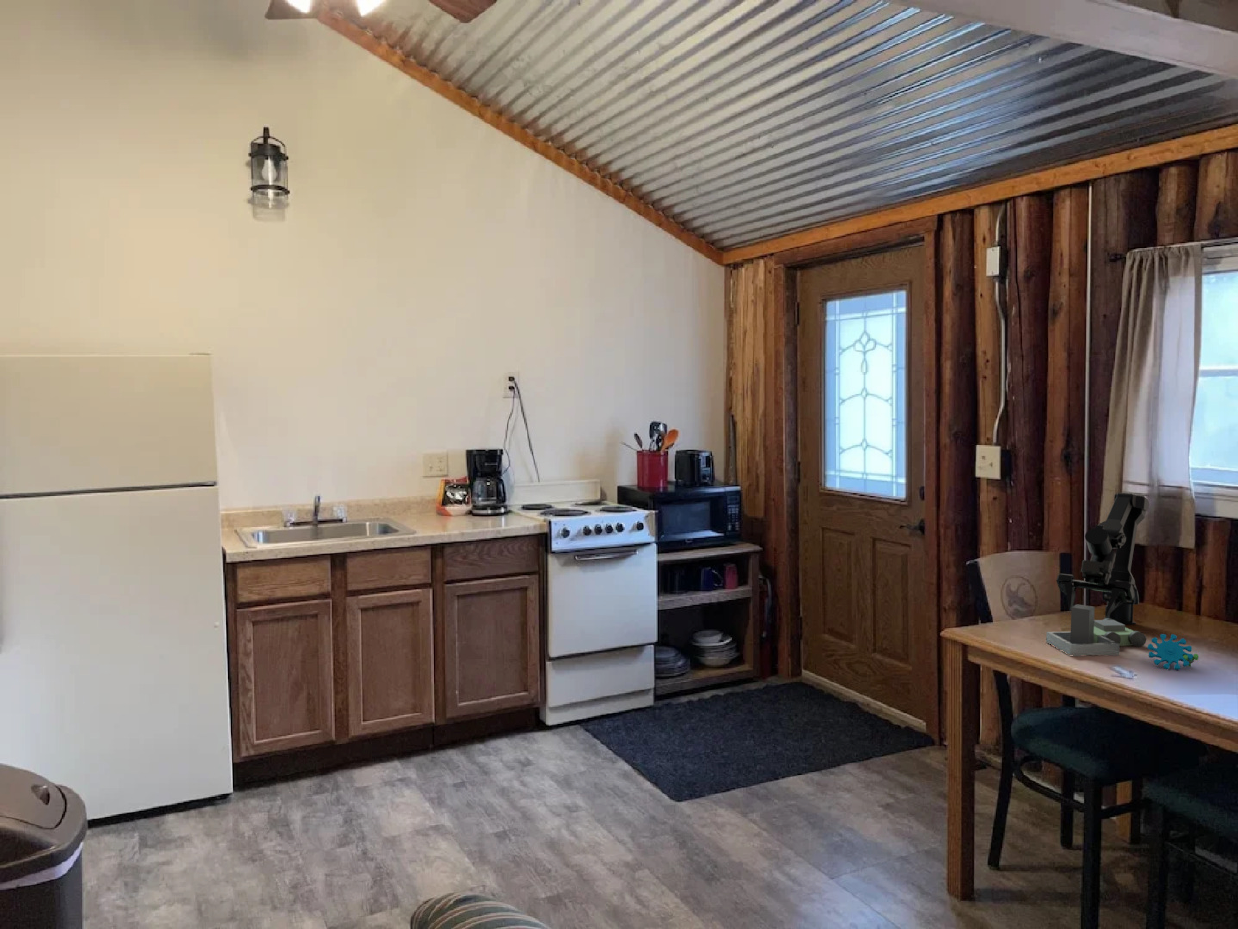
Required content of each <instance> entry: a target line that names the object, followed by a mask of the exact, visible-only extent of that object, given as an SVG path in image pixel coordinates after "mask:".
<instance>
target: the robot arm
mask: <svg viewBox="0 0 1238 929" xmlns="http://www.w3.org/2000/svg"><path fill="white" fill-rule="evenodd" d="M1149 506H1150V500H1149V499H1148V498H1147V497H1145V496H1144V495H1142V494H1135V493H1134V494H1133V493H1132V492H1131V493H1130V492H1116V493H1115V494H1114V499H1113V504H1112V506H1111V508H1110V510H1109V513H1108V515H1107V517H1106V519H1105V521H1102V522H1100V523H1098V524H1096V525H1095V527H1094V528H1091V529H1089V530H1087V532H1085V534H1084V538H1085V542H1086V545H1087V549H1088V551H1089V553H1090V554H1091V556H1090V557H1091V558H1090V559H1089V560H1087V559H1083V560H1082V562H1081V568H1080V573H1082V578H1083V579H1084V580H1080V579H1076V578H1075V575H1074V574H1070V573H1068V574H1067V573H1059V574H1058V575H1057V578H1056V579H1055V581H1056V584H1057V586H1058V589H1059V591H1060V592H1062V593H1063V594H1064V595H1065V596H1066V597H1067V605H1068V611H1069V612H1070V611H1071V607H1073V606H1074V605H1075V604H1074V603H1075V598H1076V596H1077V594H1076V592H1077V590H1078V589H1077V588H1079V589H1086V590H1092V591H1096V592H1098V591H1099V592H1102V594H1101V595H1102V602H1106V604H1107V605H1105V611H1104V612H1105V613H1104V617H1103V619H1105V618H1110V619H1112V620H1115V621H1117V622H1119V623H1122V624H1124V625H1136V624H1137V622H1135V621H1134V606H1135V605H1139V603H1140V598H1139V596H1140V595H1139V591H1138V589H1137V586H1136V581H1135V578H1134V577H1133V574H1132V572H1131V570H1132V564H1133V562H1132V561H1133V557H1134V556H1133V555H1134V549H1135V544H1136V537H1137V532H1138V530H1137V529H1138V525H1139V524H1140V523H1141V522H1143V520H1144V519H1145V518H1146V512H1148V511H1149ZM1115 549H1116V550H1115Z"/></svg>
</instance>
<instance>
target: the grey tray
mask: <svg viewBox="0 0 1238 929" xmlns="http://www.w3.org/2000/svg"><path fill="white" fill-rule="evenodd" d="M1070 636H1071V630H1069V631H1046V639H1045V640H1046V641H1045V643H1046V642H1047V644H1048V643H1049V644H1048V645H1050V644H1052V645H1054V646H1055V647H1057V648H1058V649H1060V650H1063V651H1064V652H1066V653H1067V654H1069V655H1073V656H1072V657H1082V656H1081V655H1109V656H1119V655H1120V646H1121V645H1120V644H1118V643H1116V642H1114V641H1112V640H1110V639H1108V638H1106V637H1104V636H1102V635H1099V636H1098V643H1092V644H1072V643H1070ZM1055 647H1054V648H1055ZM1057 648H1056V649H1057ZM1058 649H1057V650H1058ZM1060 650H1059V651H1060ZM1064 652H1063V653H1064ZM1067 654H1066V655H1067ZM1069 655H1068V656H1069Z"/></svg>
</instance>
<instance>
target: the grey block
mask: <svg viewBox="0 0 1238 929" xmlns="http://www.w3.org/2000/svg"><path fill="white" fill-rule="evenodd" d="M1095 609H1096V608H1095V606H1093V605H1092V606H1091V605H1084V604H1074V605H1073V607H1071V613H1070V614H1071V615H1070V631H1071V636H1070V643H1072V644H1092V643H1093V638H1094V620H1095Z"/></svg>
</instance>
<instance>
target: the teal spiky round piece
mask: <svg viewBox="0 0 1238 929" xmlns="http://www.w3.org/2000/svg"><path fill="white" fill-rule="evenodd" d="M1159 638H1160V639H1161V642H1160V643H1159V642H1158V638H1157V637H1156V636H1155V637H1152V638H1151V643H1149V644H1148V645H1147V648H1146V649H1147V650H1151V651H1149V652H1148V658H1150V659H1152V658H1155V659H1154V660H1153V663H1154V664H1155V665H1156V666H1159V665H1160V664H1161V663H1163V669H1164V670H1167V669H1168V670H1170V667H1171V666H1170V665H1172V664H1173V663H1174V665H1173V669H1174V670H1175V671H1176V670H1177V671H1180V670H1181V665H1180V664H1179V662H1182V666H1183V667H1184V668H1185V667H1190V668H1191V666H1192V664H1193V663H1194V662H1195V661H1198V660H1199V654H1197V653H1193V654H1192V653H1191V652H1192V651H1193V648H1192V645H1187V646H1184V645H1186V644H1187V640H1186V639H1185V638H1184V637H1183V638H1181V639H1179V640H1177V638H1178V636H1177V635H1176V634H1173V633H1171V635H1170V638H1169V639H1168V640H1166V638H1167V634H1165V633H1161V634H1160V635H1159ZM1176 640H1177V641H1176ZM1152 643H1153V644H1152ZM1154 644H1155V645H1156V647H1154ZM1182 645H1183V646H1182ZM1185 650H1186V651H1185ZM1153 651H1154V652H1155V653H1154V652H1153ZM1189 652H1190V653H1189ZM1157 658H1159V659H1157ZM1164 662H1166V663H1164ZM1167 662H1168V663H1167Z"/></svg>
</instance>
